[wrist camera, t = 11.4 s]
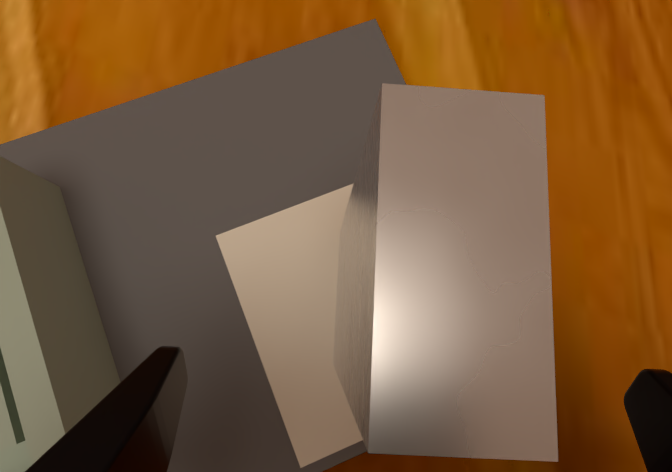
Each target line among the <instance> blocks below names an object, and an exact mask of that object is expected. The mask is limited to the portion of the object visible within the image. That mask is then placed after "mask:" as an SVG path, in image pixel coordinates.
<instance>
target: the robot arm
mask: <svg viewBox="0 0 672 472" xmlns="http://www.w3.org/2000/svg"><path fill="white" fill-rule="evenodd" d="M187 382H188V374H187V368H186V363H185V357H184V352H183V350H182V348H181V347H175V346H161V347H158V348H157V349H156V350H155V351H154V352H152V353H151V354H150V355H149V356H148V357H147V358H146V359H145V360H144V361H143V362H142V363H141V364H140V365H139V366H137V367H136V368H135V369H134V370H133V371H132V372H131V373H130V374H129V375H128V376H127V377H126V378H125V379H124V380H122V381H121V382H120V383H119V384H118V385H117V386H116V387H115V388H114V389H113V390H112V391H111V392H110V393H109V394H107V395H106V396H105V397H104V398H103V399H102V400H101V401H100V402H99V403H98V404H97V405H96V406H95V407H93V408H92V409H91V410H90V411H89V412H88V413H87V414H86V415H85V416H84V417H83V418H82V419H81V420H80V421H78V422H77V423H76V424H75V425H74V426H73V427H72V428H71V429H70V430H69V431H68V432H67V433H66V434H65V435H63V436H62V437H61V438H60V439H59V440H58V441H57V442H56V443H55V444H54V445H53V446H52V447H51V448H50V449H48V450H47V451H46V452H45V453H44V454H43V455H42V456H41V457H40V458H39V459H38V460H37V461H36V462H35V463H33V464H32V465H31V466H30V467H29V468H28V469H27V470H26V471H25V472H167V470H168V467H169V463H170V459H171V455H172V450H173V446H174V441H175V437H176V433H177V428H178V424H179V419H180V415H181V411H182V406H183V402H184V397H185V393H186V389H187ZM624 405H625V409H626V412H627V414H628V417H629V420H630V423H631V426H632V429H633V431H634V434H635V437H636V440H637V443H638V446H639V448H640V451H641V454H642V457H643V460H644V462H645V465H646V468H647V471H648V472H672V373H670V372H668V371H666V370H661V369H644V370H642V371H641V372H640V373H639V374H638V375H637V377H636V378H635V380H634V381H633V383H632V384H631V386H630V387H629V389H628V390H627V391H626V393H625V396H624Z"/></svg>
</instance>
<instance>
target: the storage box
mask: <svg viewBox="0 0 672 472" xmlns="http://www.w3.org/2000/svg"><path fill="white" fill-rule="evenodd" d="M119 383H120V379H119V375H118V372H117V369H116V366H115V363H114V359H113V356H112V353H111V350H110V347H109V343H108V340H107V337H106V334H105V331H104V327H103V324H102V321H101V318H100V315H99V311H98V308H97V305H96V302H95V299H94V295H93V292H92V289H91V286H90V283H89V279H88V276H87V273H86V270H85V266H84V263H83V260H82V257H81V254H80V250H79V247H78V244H77V241H76V238H75V234H74V231H73V228H72V225H71V222H70V218H69V215H68V212H67V209H66V206H65V202H64V199H63V196H62V193H61V190H60V187H59V186H57V185H55V184H53V183H51V182H49V181H47V180H45V179H43V178H41V177H40V176H38V175H36V174H34V173H32V172H30V171H28V170H26V169H24V168H22V167H20V166H18V165H16V164H14V163H12V162H10V161H9V160H7V159H5V158H3V157H1V156H0V472H25V471H26V470H27V469H28V468H29V467H30V466H31V465H32V464H33V463H35V462H36V461H37V460H38V459H39V458H40V457H41V456H42V455H43V454H44V453H45V452H46V451H47V450H48V449H50V448H51V447H52V446H53V445H54V444H55V443H56V442H57V441H58V440H59V439H60V438H61V437H62V436H63V435H65V434H66V433H67V432H68V431H69V430H70V429H71V428H72V427H73V426H74V425H75V424H76V423H77V422H78V421H80V420H81V419H82V418H83V417H84V416H85V415H86V414H87V413H88V412H89V411H90V410H91V409H92V408H93V407H95V406H96V405H97V404H98V403H99V402H100V401H101V400H102V399H103V398H104V397H105V396H106V395H107V394H109V393H110V392H111V391H112V390H113V389H114V388H115V387H116V386H117V385H118V384H119Z"/></svg>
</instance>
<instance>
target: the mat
mask: <svg viewBox="0 0 672 472" xmlns="http://www.w3.org/2000/svg"><path fill="white" fill-rule="evenodd" d="M382 83H385V84H399V85H406V83H405V81H404V79H403V77H402V75H401V73H400V71H399V68H398V66H397V64H396V62H395V60H394V58H393V56H392V53H391V51H390V49H389V47H388V45H387V43H386V41H385V38H384V36H383V34H382V32H381V30H380V28H379V26H378V23H377V21H376V19H373V20H370V21H367V22H364V23H361V24H358V25H355V26H352V27H349V28H346V29H343V30H340V31H337V32H334V33H331V34H328V35H325V36H322V37H319V38H317V39H314V40H311V41H308V42H305V43H302V44H299V45H296V46H293V47H290V48H287V49H284V50H281V51H278V52H275V53H272V54H269V55H266V56H263V57H260V58H257V59H254V60H251V61H248V62H245V63H242V64H239V65H236V66H233V67H230V68H227V69H224V70H221V71H218V72H215V73H212V74H209V75H206V76H203V77H200V78H197V79H194V80H191V81H188V82H185V83H182V84H180V85H177V86H174V87H171V88H168V89H165V90H162V91H159V92H156V93H153V94H150V95H147V96H144V97H141V98H138V99H135V100H132V101H129V102H126V103H123V104H120V105H117V106H114V107H111V108H108V109H105V110H102V111H99V112H96V113H93V114H90V115H87V116H84V117H81V118H78V119H75V120H72V121H69V122H66V123H63V124H60V125H57V126H54V127H51V128H48V129H45V130H43V131H40V132H37V133H34V134H31V135H28V136H25V137H22V138H19V139H16V140H13V141H10V142H7V143H4V144H1V145H0V156H1V157H3V158H5V159H7V160H9V161H10V162H12V163H14V164H16V165H18V166H20V167H22V168H24V169H26V170H28V171H30V172H32V173H34V174H36V175H38V176H40V177H41V178H43V179H45V180H47V181H49V182H51V183H53V184H55V185H57V186H59V187H60V190H61V193H62V196H63V199H64V202H65V206H66V209H67V212H68V215H69V218H70V222H71V225H72V228H73V231H74V234H75V238H76V241H77V244H78V247H79V250H80V254H81V257H82V260H83V263H84V266H85V270H86V273H87V276H88V279H89V283H90V286H91V289H92V292H93V295H94V299H95V302H96V305H97V308H98V311H99V315H100V318H101V321H102V324H103V327H104V331H105V334H106V337H107V340H108V343H109V347H110V350H111V353H112V356H113V359H114V363H115V366H116V369H117V372H118V375H119V379H120V382H121V381H122V380H124V379H125V378H126V377H127V376H128V375H129V374H130V373H131V372H132V371H133V370H134V369H135V368H136V367H137V366H139V365H140V364H141V363H142V362H143V361H144V360H145V359H146V358H147V357H148V356H149V355H150V354H151V353H152V352H154V351H155V350H156V349H157V348H158V347H161V346H175V347H181V348H182V350H183V352H184V357H185V363H186V368H187V374H188V382H187V389H186V393H185V397H184V402H183V406H182V411H181V415H180V419H179V424H178V428H177V433H176V437H175V441H174V446H173V450H172V455H171V459H170V463H169V467H168V470H167V472H322V471H324V470H326V469H329V468H331V467H333V466H335V465H337V464H340V463H342V462H344V461H346V460H348V459H351V458H353V457H355V456H357V455H359V454H362V453H364V452H366V451H367V449H366V446H365V444H364V441H363V439H362V436H361V434H360V431H359V429H358V426H357V423H356V421H355V418H354V416H353V413H352V411H351V408H350V406H349V403H348V401H347V398H346V395H345V393H344V390H343V388H342V385H341V383H340V380H339V378H338V375H337V373H336V370H335V367H334V365H333V355H334V336H335V317H336V298H337V280H338V261H339V242H340V230H341V226H342V223H343V219H344V216H345V212H346V209H347V205H348V202H349V198H350V195H351V191H352V188H353V184H354V181H355V177H356V174H357V170H358V166H359V163H360V159H361V156H362V152H363V149H364V145H365V142H366V138H367V135H368V131H369V128H370V124H371V121H372V117H373V114H374V110H375V107H376V103H377V100H378V96H379V92H380V89H381V85H382Z"/></svg>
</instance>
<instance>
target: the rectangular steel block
mask: <svg viewBox="0 0 672 472" xmlns="http://www.w3.org/2000/svg"><path fill="white" fill-rule="evenodd" d="M333 365H334V367H335V370H336V373H337V375H338V378H339V380H340V383H341V385H342V388H343V390H344V393H345V395H346V398H347V401H348V403H349V406H350V408H351V411H352V413H353V416H354V418H355V421H356V423H357V426H358V429H359V431H360V434H361V436H362V439H363V441H364V444H365V446H366V449H367V451H368V453H371V454H394V455H416V456H439V457H462V458H484V459H507V460H529V461H552V462H558V439H557V413H556V387H555V361H554V335H553V308H552V282H551V256H550V230H549V204H548V178H547V151H546V125H545V99H544V95H533V94H520V93H506V92H493V91H479V90H466V89H453V88H439V87H426V86H412V85H399V84H385V83H382V85H381V89H380V92H379V96H378V100H377V103H376V107H375V110H374V114H373V117H372V121H371V124H370V128H369V131H368V135H367V138H366V142H365V145H364V149H363V152H362V156H361V159H360V163H359V166H358V170H357V174H356V177H355V181H354V184H353V188H352V191H351V195H350V198H349V202H348V205H347V209H346V212H345V216H344V219H343V223H342V226H341V230H340V242H339V261H338V280H337V298H336V317H335V336H334V355H333Z"/></svg>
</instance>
